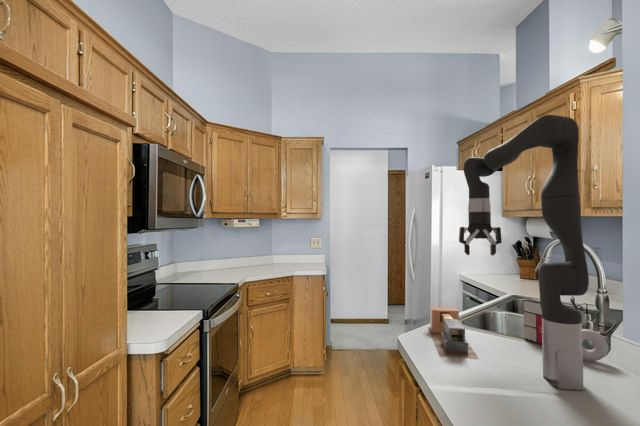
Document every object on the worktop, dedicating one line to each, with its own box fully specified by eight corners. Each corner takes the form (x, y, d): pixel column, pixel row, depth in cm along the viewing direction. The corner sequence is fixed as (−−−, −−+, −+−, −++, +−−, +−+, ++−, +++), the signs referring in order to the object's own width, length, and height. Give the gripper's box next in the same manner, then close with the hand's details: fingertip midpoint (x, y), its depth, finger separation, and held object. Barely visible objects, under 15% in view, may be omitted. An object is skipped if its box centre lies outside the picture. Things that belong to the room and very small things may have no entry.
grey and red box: (522, 339, 138) (521, 299, 138) (530, 337, 139) (529, 298, 140) (551, 348, 128) (550, 305, 128) (559, 346, 129) (558, 304, 130)
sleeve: (468, 355, 118) (468, 328, 118) (446, 353, 119) (446, 327, 119) (461, 342, 130) (460, 319, 130) (440, 341, 131) (440, 318, 131)
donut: (569, 359, 118) (569, 327, 118) (569, 355, 121) (569, 325, 121) (609, 365, 112) (608, 333, 112) (607, 362, 115) (607, 330, 115)
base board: (479, 362, 115) (479, 358, 115) (439, 360, 117) (439, 356, 117) (458, 331, 147) (458, 328, 147) (427, 330, 149) (427, 327, 149)
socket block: (458, 333, 141) (458, 311, 141) (432, 332, 143) (431, 310, 143) (456, 329, 146) (456, 308, 146) (430, 328, 147) (430, 307, 148)
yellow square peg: (458, 335, 124) (458, 326, 124) (449, 334, 125) (449, 325, 125) (448, 319, 144) (447, 311, 145) (440, 318, 145) (440, 311, 145)
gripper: (461, 210, 132) (462, 255, 131) (503, 210, 129) (504, 256, 129) (457, 211, 139) (457, 254, 138) (496, 211, 137) (497, 254, 136)
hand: (480, 255), depth 133 cm, fingers open, 8 cm apart
